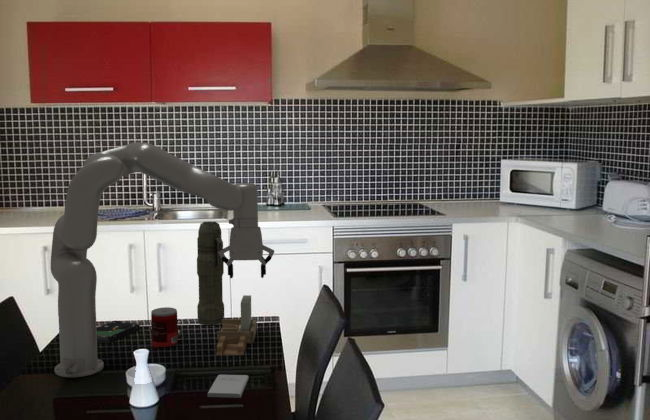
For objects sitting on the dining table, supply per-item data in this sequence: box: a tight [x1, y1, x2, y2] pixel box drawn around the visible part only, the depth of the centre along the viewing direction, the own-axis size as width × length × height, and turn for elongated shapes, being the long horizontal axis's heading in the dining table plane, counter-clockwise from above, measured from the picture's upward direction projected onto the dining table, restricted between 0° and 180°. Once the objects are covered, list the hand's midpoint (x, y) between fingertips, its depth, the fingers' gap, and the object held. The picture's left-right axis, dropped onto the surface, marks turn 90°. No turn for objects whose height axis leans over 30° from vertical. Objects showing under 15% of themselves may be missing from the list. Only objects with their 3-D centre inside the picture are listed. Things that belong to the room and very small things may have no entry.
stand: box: [215, 336, 247, 356], centre depth 191 cm, size 10×8×4 cm
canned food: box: [150, 306, 179, 349], centre depth 196 cm, size 8×8×11 cm
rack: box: [216, 318, 258, 345], centre depth 204 cm, size 14×11×4 cm
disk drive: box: [96, 320, 140, 344], centre depth 207 cm, size 10×3×15 cm
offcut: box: [221, 324, 236, 331], centre depth 200 cm, size 5×4×2 cm
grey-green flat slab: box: [240, 295, 252, 331], centre depth 203 cm, size 9×2×12 cm, turn 2°
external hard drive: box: [207, 374, 249, 399], centre depth 165 cm, size 2×8×12 cm
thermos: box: [196, 221, 225, 326], centre depth 217 cm, size 9×12×35 cm
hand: (247, 277), depth 202 cm, fingers open, 9 cm apart
